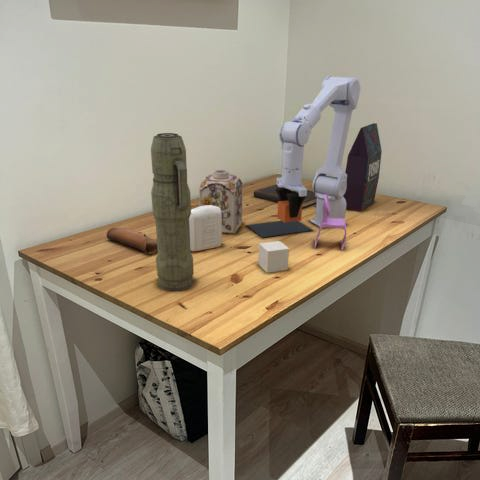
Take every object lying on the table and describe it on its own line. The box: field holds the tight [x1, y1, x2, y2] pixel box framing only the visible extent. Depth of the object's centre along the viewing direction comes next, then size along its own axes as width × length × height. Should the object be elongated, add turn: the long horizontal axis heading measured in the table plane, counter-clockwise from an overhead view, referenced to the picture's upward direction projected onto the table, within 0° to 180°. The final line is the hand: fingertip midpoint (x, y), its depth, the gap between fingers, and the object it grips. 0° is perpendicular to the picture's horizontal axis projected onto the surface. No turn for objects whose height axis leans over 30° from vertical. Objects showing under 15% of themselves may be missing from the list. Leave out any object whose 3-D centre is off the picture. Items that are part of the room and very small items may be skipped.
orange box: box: [276, 200, 303, 223], centre depth 143 cm, size 6×5×5 cm
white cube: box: [257, 240, 290, 274], centre depth 129 cm, size 6×6×6 cm
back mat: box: [246, 220, 313, 239], centre depth 157 cm, size 18×12×1 cm, turn 113°
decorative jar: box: [198, 169, 243, 235], centre depth 153 cm, size 12×12×18 cm
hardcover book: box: [253, 184, 317, 209], centre depth 188 cm, size 16×23×2 cm
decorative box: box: [343, 122, 383, 212], centre depth 175 cm, size 8×16×28 cm, turn 148°
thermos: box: [150, 132, 195, 292], centre depth 112 cm, size 9×12×35 cm
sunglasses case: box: [106, 227, 158, 255], centre depth 143 cm, size 18×7×7 cm, turn 51°
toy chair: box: [314, 194, 347, 251], centre depth 141 cm, size 8×9×15 cm
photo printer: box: [189, 205, 223, 252], centre depth 139 cm, size 10×4×12 cm, turn 123°
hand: (289, 214), depth 143 cm, fingers closed on orange box, 4 cm apart
